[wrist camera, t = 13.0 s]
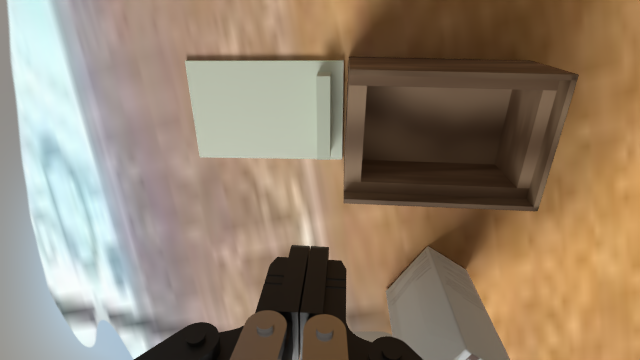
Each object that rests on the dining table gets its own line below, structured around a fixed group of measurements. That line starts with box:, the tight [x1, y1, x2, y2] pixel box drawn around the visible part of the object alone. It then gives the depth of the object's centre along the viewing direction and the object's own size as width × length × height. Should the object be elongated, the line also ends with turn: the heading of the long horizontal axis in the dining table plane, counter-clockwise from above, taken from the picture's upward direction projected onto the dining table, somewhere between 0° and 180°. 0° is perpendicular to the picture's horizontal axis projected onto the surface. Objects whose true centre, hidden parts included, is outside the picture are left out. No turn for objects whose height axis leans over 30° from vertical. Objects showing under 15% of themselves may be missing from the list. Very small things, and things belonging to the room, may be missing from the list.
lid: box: [185, 60, 344, 160], centre depth 35 cm, size 10×15×4 cm, turn 91°
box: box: [344, 57, 579, 211], centre depth 32 cm, size 11×16×7 cm
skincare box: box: [386, 246, 510, 360], centre depth 37 cm, size 8×6×15 cm
